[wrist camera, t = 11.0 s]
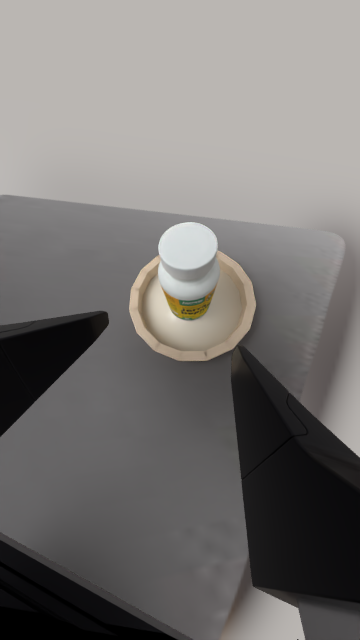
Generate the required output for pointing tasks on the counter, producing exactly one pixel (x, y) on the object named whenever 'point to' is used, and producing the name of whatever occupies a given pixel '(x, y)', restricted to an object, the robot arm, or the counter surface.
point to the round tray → (199, 335)
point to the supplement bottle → (188, 269)
